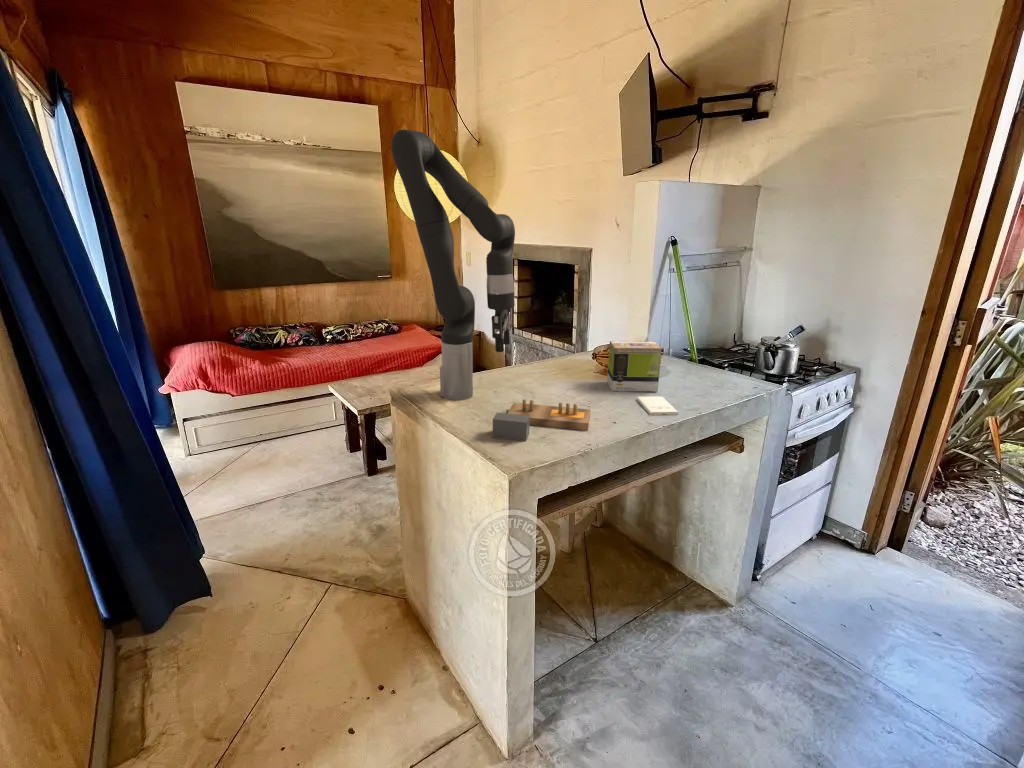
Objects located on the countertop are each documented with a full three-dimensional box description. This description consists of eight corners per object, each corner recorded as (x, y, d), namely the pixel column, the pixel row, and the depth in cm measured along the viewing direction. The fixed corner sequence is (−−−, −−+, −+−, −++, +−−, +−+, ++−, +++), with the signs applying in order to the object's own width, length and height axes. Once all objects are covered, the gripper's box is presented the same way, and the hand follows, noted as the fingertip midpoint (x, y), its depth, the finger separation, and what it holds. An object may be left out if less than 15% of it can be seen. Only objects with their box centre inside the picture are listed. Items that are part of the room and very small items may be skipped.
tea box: (650, 382, 168) (655, 340, 163) (657, 392, 158) (663, 348, 154) (606, 381, 168) (609, 339, 163) (610, 391, 159) (614, 347, 154)
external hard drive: (662, 401, 153) (678, 416, 141) (636, 401, 152) (650, 416, 140) (662, 396, 152) (678, 411, 140) (636, 396, 151) (650, 411, 140)
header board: (506, 422, 133) (506, 405, 132) (513, 409, 143) (513, 392, 141) (588, 430, 129) (589, 412, 128) (590, 416, 139) (591, 399, 137)
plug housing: (492, 437, 124) (492, 419, 122) (496, 430, 128) (496, 412, 127) (526, 441, 122) (526, 422, 121) (529, 433, 127) (529, 415, 125)
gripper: (493, 287, 143) (495, 342, 148) (480, 294, 130) (484, 354, 135) (518, 287, 141) (520, 342, 146) (508, 294, 128) (511, 354, 133)
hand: (502, 347), depth 141 cm, fingers open, 8 cm apart
